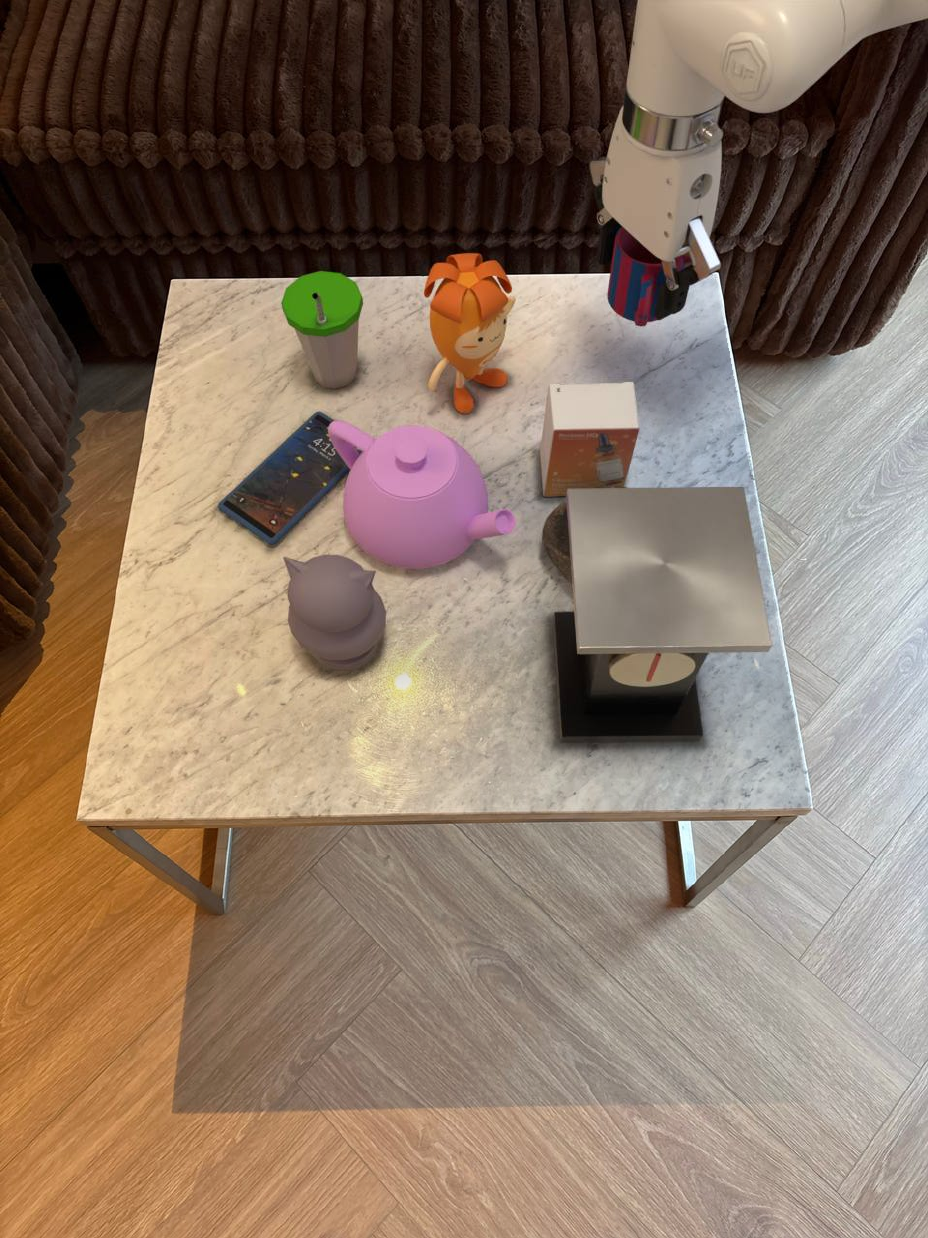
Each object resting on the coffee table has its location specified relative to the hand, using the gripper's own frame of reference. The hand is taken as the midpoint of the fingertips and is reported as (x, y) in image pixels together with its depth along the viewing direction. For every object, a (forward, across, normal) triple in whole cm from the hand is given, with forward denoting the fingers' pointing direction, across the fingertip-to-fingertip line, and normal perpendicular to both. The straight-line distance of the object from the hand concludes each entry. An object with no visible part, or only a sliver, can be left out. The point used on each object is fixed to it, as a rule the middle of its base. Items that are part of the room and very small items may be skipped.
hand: (639, 283), depth 89 cm
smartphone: (+12, +7, +35) cm, 38 cm away
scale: (+13, -28, +21) cm, 37 cm away
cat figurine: (+13, -11, +40) cm, 44 cm away
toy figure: (+13, +8, +14) cm, 21 cm away
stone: (+13, -17, +15) cm, 26 cm away
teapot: (+13, -4, +27) cm, 30 cm away
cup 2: (+3, 0, 0) cm, 3 cm away
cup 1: (+12, +17, +25) cm, 33 cm away
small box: (+13, -8, +11) cm, 19 cm away
